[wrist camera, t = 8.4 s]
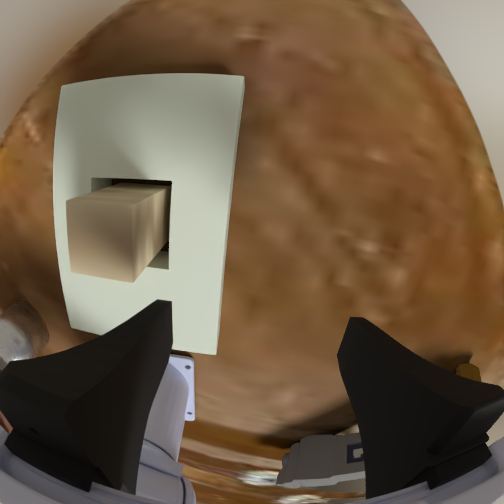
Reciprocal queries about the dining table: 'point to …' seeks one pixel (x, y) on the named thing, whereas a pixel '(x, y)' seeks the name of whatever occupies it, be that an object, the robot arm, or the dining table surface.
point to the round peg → (21, 333)
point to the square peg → (117, 229)
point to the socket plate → (153, 168)
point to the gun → (334, 454)
